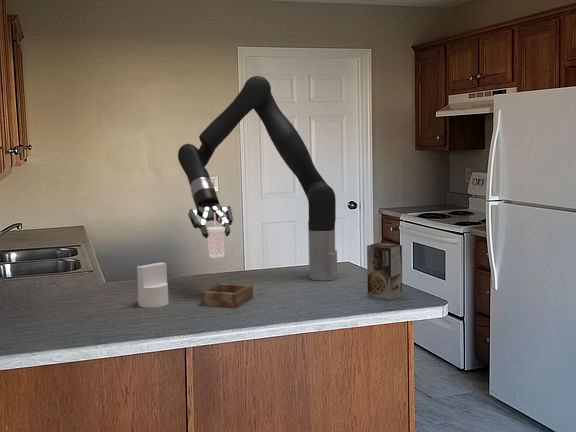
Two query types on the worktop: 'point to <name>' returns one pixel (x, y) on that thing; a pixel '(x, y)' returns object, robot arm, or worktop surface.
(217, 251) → the beverage cup
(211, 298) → the walnut collar
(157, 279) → the cylinder with rectangular tab
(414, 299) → the worktop surface
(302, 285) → the worktop surface
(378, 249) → the coffee box
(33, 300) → the worktop surface
